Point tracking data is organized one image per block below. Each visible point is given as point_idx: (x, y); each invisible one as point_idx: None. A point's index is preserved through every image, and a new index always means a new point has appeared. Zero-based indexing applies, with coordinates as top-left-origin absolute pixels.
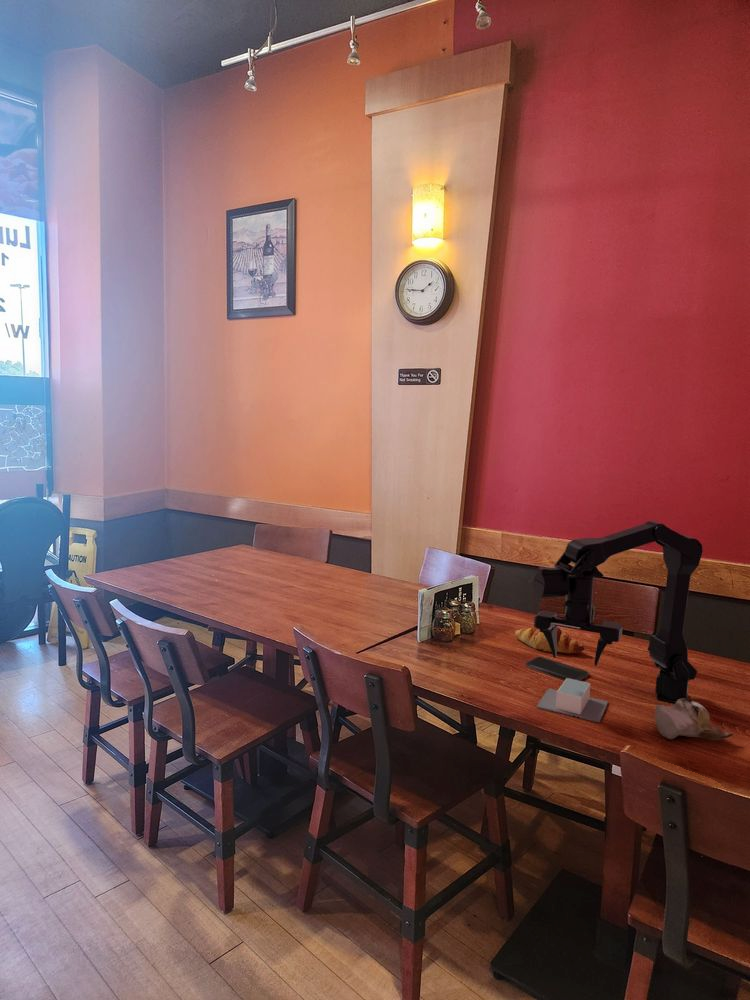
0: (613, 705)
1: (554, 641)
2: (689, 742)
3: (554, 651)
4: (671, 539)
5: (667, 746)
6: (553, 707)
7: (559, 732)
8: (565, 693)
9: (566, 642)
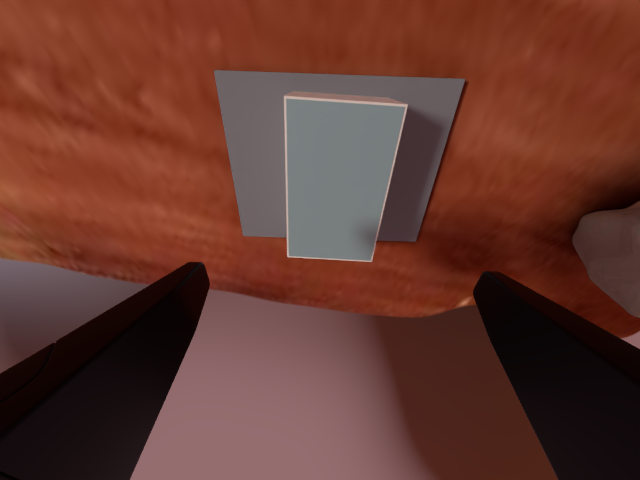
0: (480, 90)
1: (121, 440)
2: None
3: (185, 342)
4: None
5: (559, 274)
6: (286, 223)
7: (328, 307)
8: (317, 256)
9: None
